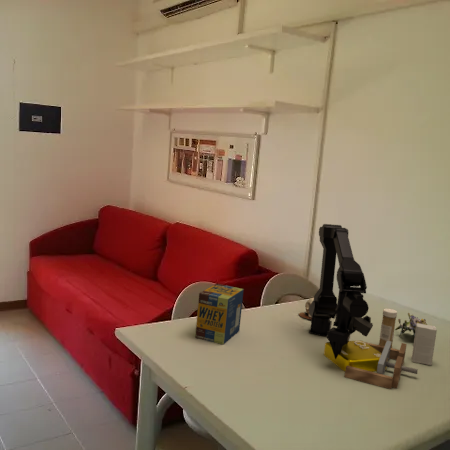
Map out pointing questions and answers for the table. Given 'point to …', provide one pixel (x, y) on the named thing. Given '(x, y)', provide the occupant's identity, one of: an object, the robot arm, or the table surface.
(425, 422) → the table surface
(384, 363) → the pusher
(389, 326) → the sprinkles bottle
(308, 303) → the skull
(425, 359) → the skincare box
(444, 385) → the table surface
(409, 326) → the passion flower
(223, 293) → the protein box
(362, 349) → the element tile
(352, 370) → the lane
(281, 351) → the table surface
